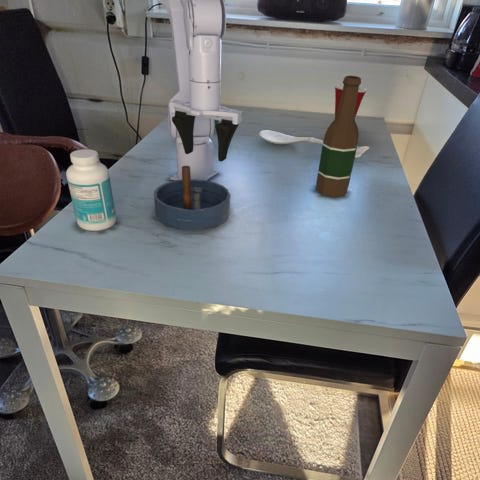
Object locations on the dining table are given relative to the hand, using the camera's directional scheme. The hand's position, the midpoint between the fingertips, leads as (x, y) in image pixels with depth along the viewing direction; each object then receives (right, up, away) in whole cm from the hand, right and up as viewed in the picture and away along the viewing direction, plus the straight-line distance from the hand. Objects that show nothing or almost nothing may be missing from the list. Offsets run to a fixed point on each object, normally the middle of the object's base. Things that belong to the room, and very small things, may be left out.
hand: (205, 156), depth 85 cm
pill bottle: (-21, -14, -2) cm, 25 cm away
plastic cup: (+42, +34, +60) cm, 81 cm away
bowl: (-3, -11, +3) cm, 12 cm away
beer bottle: (+29, -3, +15) cm, 33 cm away
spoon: (+27, +16, +38) cm, 49 cm away
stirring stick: (-4, -12, +1) cm, 12 cm away
